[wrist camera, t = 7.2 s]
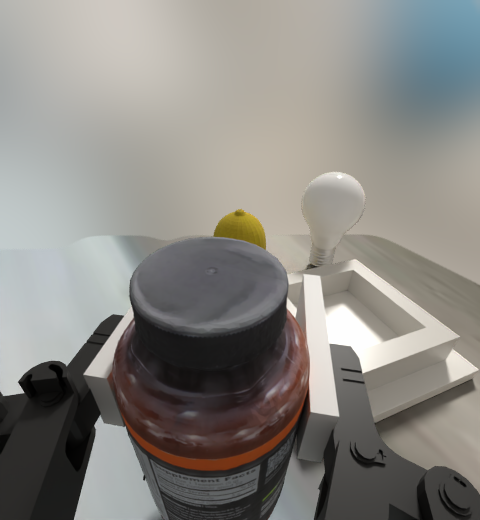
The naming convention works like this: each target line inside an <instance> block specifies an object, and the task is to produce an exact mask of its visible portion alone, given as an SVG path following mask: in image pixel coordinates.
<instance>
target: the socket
mask: <svg viewBox="0 0 480 520" xmlns="http://www.w3.org/2000/svg"><path fill="white" fill-rule="evenodd" d="M303 274H308V275H317V276H320V279H321V286H322V293H323V301H324V308H325V316H326V323H327V330H328V338H329V343H332V344H339V345H346V346H351V347H352V348H353V350H354V351H355V353H356V354H357V356H358V357H359V359H360V364H361V368H362V374H363V376H364V381H365V385H366V389H367V393H368V398H369V402H370V406H371V410H372V415H373V419H374V423H376V422H378V421H380V420H382V419H385V418H387V417H389V416H391V415H393V414H396V413H398V412H400V411H402V410H404V409H407V408H409V407H411V406H413V405H415V404H418V403H420V402H422V401H424V400H426V399H429V398H431V397H433V396H435V395H437V394H440V393H442V392H444V391H446V390H449V389H451V388H453V387H455V386H457V385H460V384H462V383H464V382H466V381H468V380H471V379H473V378H474V376H475V375H476V373H477V372H478V371H479V369H477V368H476V367H475V366H474V365H472V364H471V363H470V362H468V361H467V360H466V359H465V358H463V357H462V356H461V355H460V354H458V353H457V352H456V351H455V350H453V347H454V346H455V344H456V342H457V341H458V339H459V338H460V336H458V335H457V334H456V333H454V332H453V331H452V330H450V329H449V328H448V327H446V326H445V325H444V324H442V323H441V322H440V321H438V320H437V319H436V318H434V317H433V316H431V315H430V314H429V313H427V312H426V311H425V310H423V309H422V308H421V307H419V306H418V305H417V304H415V303H414V302H413V301H411V300H410V299H409V298H407V297H406V296H405V295H403V294H402V293H400V292H399V291H398V290H396V289H395V288H394V287H392V286H391V285H390V284H388V283H387V282H386V281H384V280H383V279H382V278H380V277H379V276H378V275H376V274H375V273H373V272H372V271H371V270H369V269H368V268H367V267H365V266H364V265H363V264H361V263H360V262H359V261H357V260H356V259H354V260H349V261H344V262H340V263H335V264H330V265H326V266H321V267H317V268H312V269H307V270H303V271H298V272H293V273H289V274H287V277H288V283H289V287H288V295H287V309H288V310H289V311H290V312H291V314H292V315H293V316H294V317H295V318H296V312H297V306H298V301H299V295H300V290H301V285H302V279H303Z"/></svg>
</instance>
